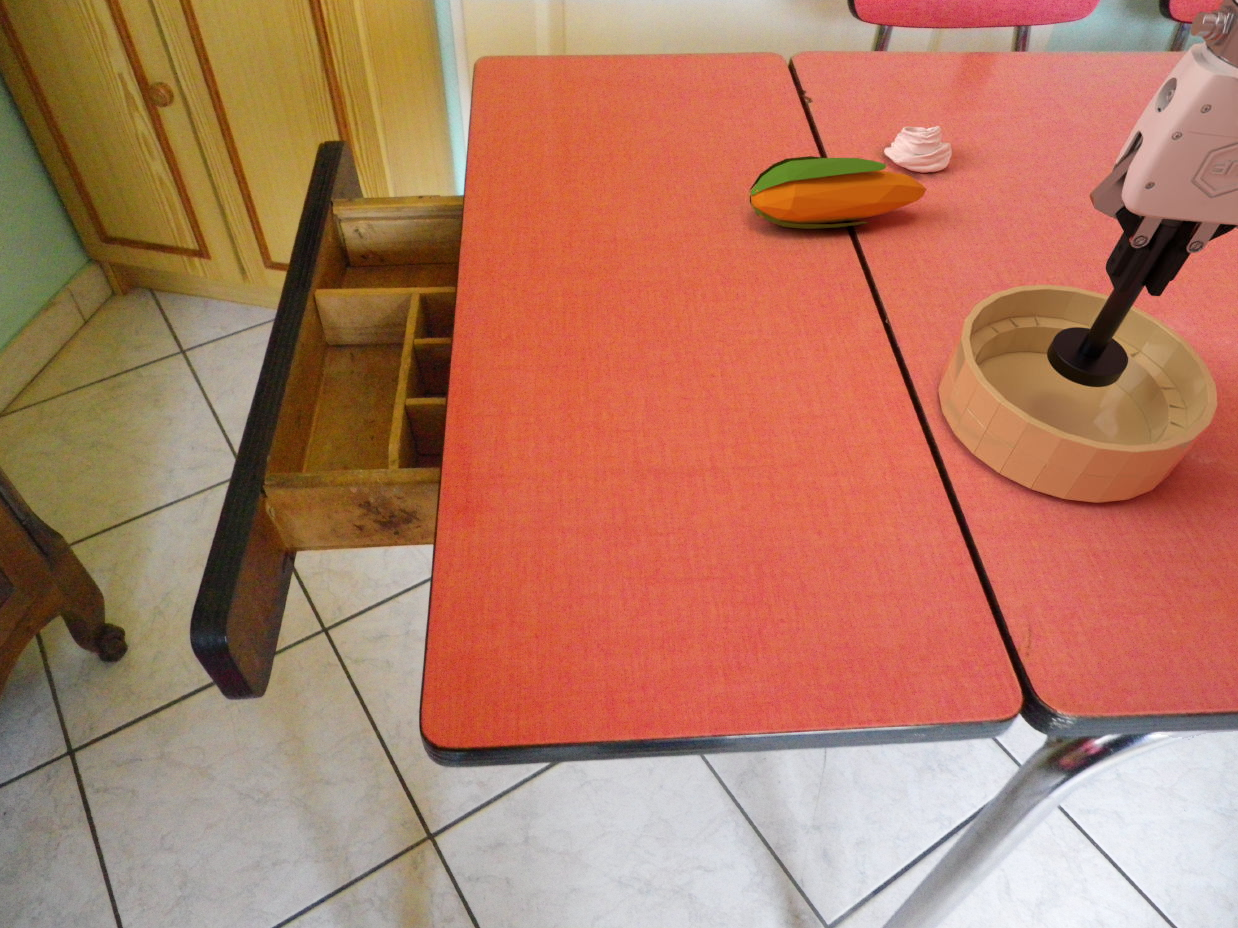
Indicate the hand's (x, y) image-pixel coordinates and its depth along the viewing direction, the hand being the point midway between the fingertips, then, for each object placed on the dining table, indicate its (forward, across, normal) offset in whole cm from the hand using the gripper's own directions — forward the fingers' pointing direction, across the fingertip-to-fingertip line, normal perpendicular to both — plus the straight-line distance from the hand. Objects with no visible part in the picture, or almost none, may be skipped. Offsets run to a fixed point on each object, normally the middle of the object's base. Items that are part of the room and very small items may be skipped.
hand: (1132, 282), depth 66 cm
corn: (+15, -19, +28) cm, 37 cm away
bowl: (+15, 0, 0) cm, 15 cm away
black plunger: (+9, 0, 0) cm, 9 cm away
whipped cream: (+15, -8, +43) cm, 46 cm away
